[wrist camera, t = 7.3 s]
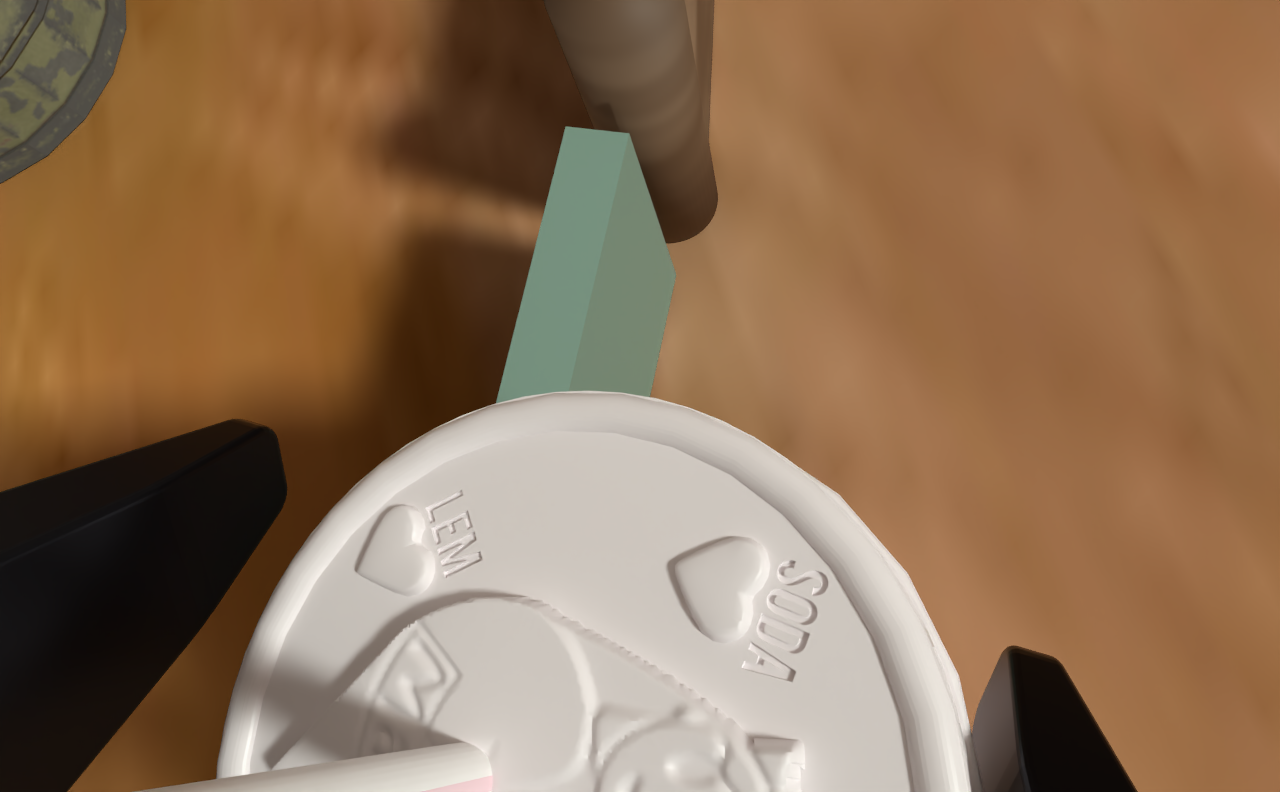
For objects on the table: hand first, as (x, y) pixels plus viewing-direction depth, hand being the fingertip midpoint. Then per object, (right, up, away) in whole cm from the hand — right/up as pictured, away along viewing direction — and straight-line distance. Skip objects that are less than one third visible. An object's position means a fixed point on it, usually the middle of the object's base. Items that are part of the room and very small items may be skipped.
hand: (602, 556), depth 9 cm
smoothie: (+3, -4, +7) cm, 9 cm away
